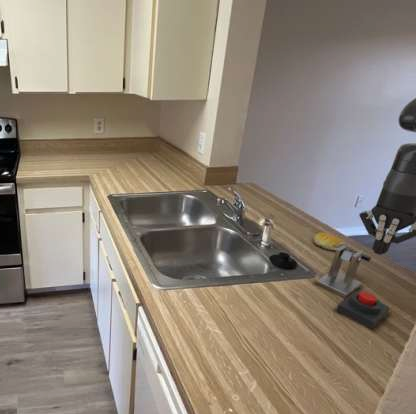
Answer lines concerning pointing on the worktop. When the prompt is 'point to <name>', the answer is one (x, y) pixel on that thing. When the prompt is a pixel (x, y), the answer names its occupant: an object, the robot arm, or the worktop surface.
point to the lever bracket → (341, 275)
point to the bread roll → (328, 241)
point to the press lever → (348, 255)
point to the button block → (363, 310)
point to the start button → (367, 298)
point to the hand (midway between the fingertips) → (378, 252)
